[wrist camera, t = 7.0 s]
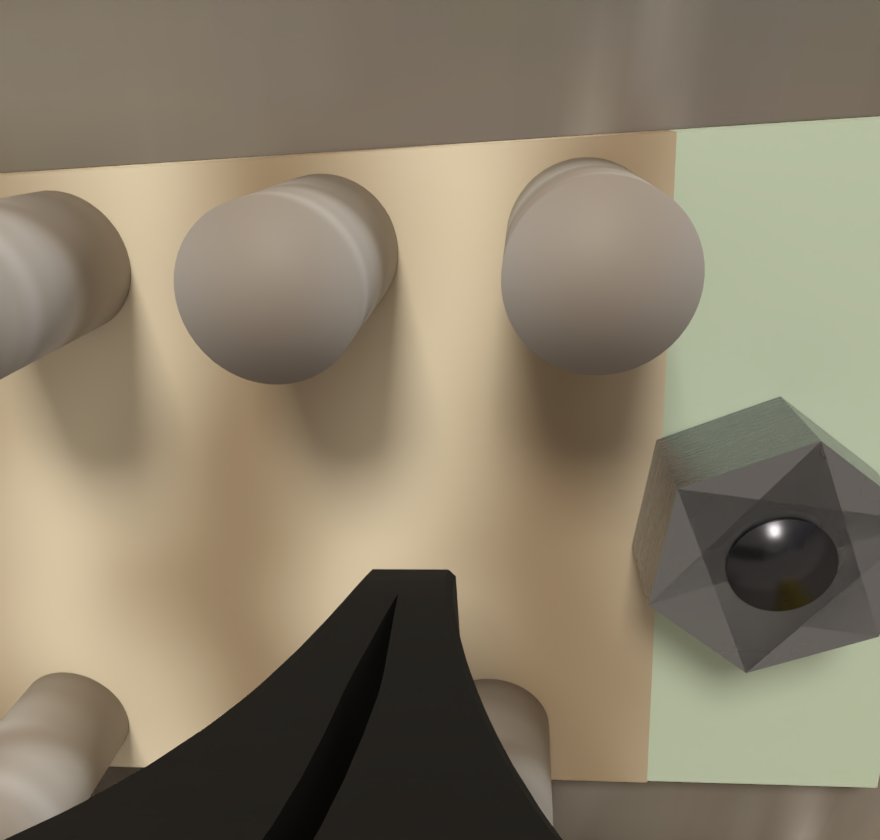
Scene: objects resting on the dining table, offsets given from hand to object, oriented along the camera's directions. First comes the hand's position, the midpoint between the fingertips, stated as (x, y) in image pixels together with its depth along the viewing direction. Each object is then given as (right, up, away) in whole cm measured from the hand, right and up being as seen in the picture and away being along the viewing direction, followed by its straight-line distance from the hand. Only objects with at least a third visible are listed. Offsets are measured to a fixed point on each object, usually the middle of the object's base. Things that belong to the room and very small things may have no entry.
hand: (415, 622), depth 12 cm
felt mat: (+7, +2, +3) cm, 8 cm away
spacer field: (-3, +1, +4) cm, 6 cm away
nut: (+6, +1, +3) cm, 7 cm away
